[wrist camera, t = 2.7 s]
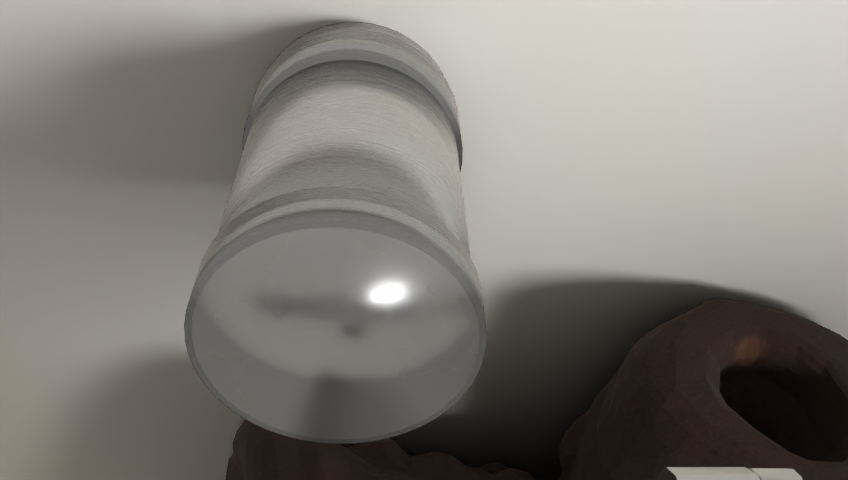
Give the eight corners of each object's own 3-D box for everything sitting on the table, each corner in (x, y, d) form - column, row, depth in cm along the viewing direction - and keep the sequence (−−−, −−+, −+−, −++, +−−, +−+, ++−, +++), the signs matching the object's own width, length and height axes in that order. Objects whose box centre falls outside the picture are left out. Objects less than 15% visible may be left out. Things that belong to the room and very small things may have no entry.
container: (465, 22, 16) (503, 226, 10) (448, 202, 18) (471, 445, 13) (249, 12, 16) (166, 214, 10) (261, 194, 18) (200, 441, 13)
